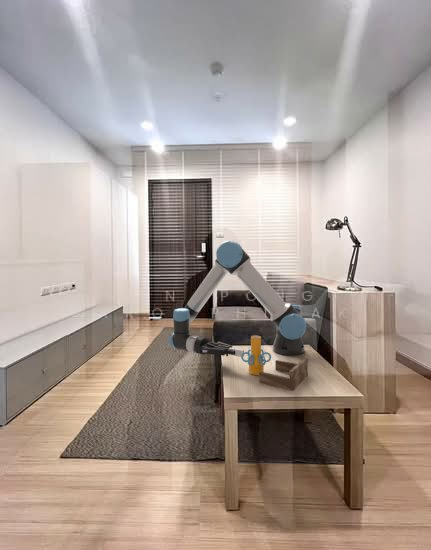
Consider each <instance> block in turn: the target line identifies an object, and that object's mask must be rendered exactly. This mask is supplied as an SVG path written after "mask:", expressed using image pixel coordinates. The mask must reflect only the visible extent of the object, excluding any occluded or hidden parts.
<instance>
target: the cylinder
mask: <svg viewBox="0 0 431 550" xmlns="http://www.w3.org/2000/svg"><path fill="white" fill-rule="evenodd" d="M243 355H244V356H245V355H247V359H244V356H243ZM265 355H268V357H269V358H268V359H266V357H265ZM240 359H241V361H242V362H245V363H247V365H248V372H249V374H250V375H253V376H259V372H264V368H265V365H266V364H267V363H269V362H270V361H272V360H271V359H272V355H271V353H270V352H269V351H268V352H267V351H264V350H263V349H262V337H261V336H260V335H251V336H250V348H249V349H248V350H247V351H244V353H243V354H242V355H241V357H240Z"/></svg>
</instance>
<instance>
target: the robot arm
mask: <svg viewBox="0 0 431 550" xmlns="http://www.w3.org/2000/svg"><path fill="white" fill-rule="evenodd" d="M215 255H216V258H215V260H214V265H213V266H212V267H211V269H210V270H209V272H208V273H207V275H206V276H205V278H203V280H202V282H201V283H200V284H199V286H198V288H197V289H196V291H194V293H193V294H192V296H191V297H190V299H188V301H187V303H186V304H185V306H184V307H182V308H176V309H174V310H173V314H172V315H173V316H172V318H173V332H172V333H171V335H169V339H168V343H169V346H170V347H171V348H172V349H176V350H179V351H186V352H189V353H192V354H195V353H196V354H200V355H213V356H215V355H216V356H221V357H224V356H226V357H229V356H234V357H239V358H241V355H242V354H243V353H244V352H245V350H244V349H243V348H242V349H241V348H236V347H233V345H231V344H229V343H228V344H227V343H225V342H221V341H220V340H218V341H217V342H214V341H209V339H208V338H207V337H203V336H198V335H193V334H190V333H191V330H190V329H191V328H190V324H191V323H193V321H194V320H195V319H196V317H197V316H198V314H199V313H200V312H201V310H202V308H203V307H204V306H205V304H206V303H207V302H208V300H209V299H210V297H211V296H212V295H213V293H214V292H215V290H216V289H217V288H218V286H219V285H220V284H221V282H222V281H223V279H224V278H225V276H226V275H227V274H228V273H229V274H230V275H231V276H236V277H237V278H238V279H239V280H240V281H241V283H242V284H243V285H244V286H245V287H246V289H247V290H248V291H249V292H250V293H251V294H252V296H253V297H254V298H255V299H256V300H257V301H258V302H259V303H260V304H261V306H263V308H264V309H265V310H266V311H267V312H268V313H269V315H270V321H271V322H272V323H273V324H274V325H275V328H276V336H275V339H274V341H273V344H272V349H273V351H274V353H276V354H279V355H285V356H297V355H302V354H303V353H305V346H304V342H303V340H302V336H304V335H305V332H306V330H307V323H306V319H305V318H304V317H303V316H302V315H301V314H302V313H301V312H302V310H301V305H299V304H292V303H290V302H285V301H284V299H283V298H282V297H281V296H280V295H279V294H278V292H276V290H275V289H274V287H272V285H270V283H269V282H268V281H267V280H266V279H265V278H264V277H263V275H262V274H261V273H260V272H259V271H258V270H257V269H256V268H255V267H254V265H253V264H252V263H251V257H250V256H249V255H248V253H247V252H246V251H245V250H244V249H243V248H242V246H241V245H240V243H238V242H237V241H235V240H230V239H229V240H225V241H223V242H222V243H220V244H219V245H218V247H217V249H216V253H215ZM243 357H245V354H244V355H243Z"/></svg>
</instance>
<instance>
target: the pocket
mask: <svg viewBox="0 0 431 550" xmlns="http://www.w3.org/2000/svg"><path fill="white" fill-rule="evenodd" d="M308 360H309V359H308V358H307V357H304V358H302V360H300V361H299V362H298V363H294V362H290V361H284V360H278V359H276V360H275V371H276V372H277V371H278V372H283V373H287V374H289V377H287V376H283V375H277V374H275V373H274V374H273V373H269V372H259V375H258V383H259V384H262V385H267V386H270V387H275V388H279V389H284V390H287V391H291V392H293V391H294V390H295V389H297V387H298V386H299V385H301V383H302V382H303V381H304V380H305V379H306V378H307V377H308V368H309V367H308V366H309V364H308V363H309V361H308Z"/></svg>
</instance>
